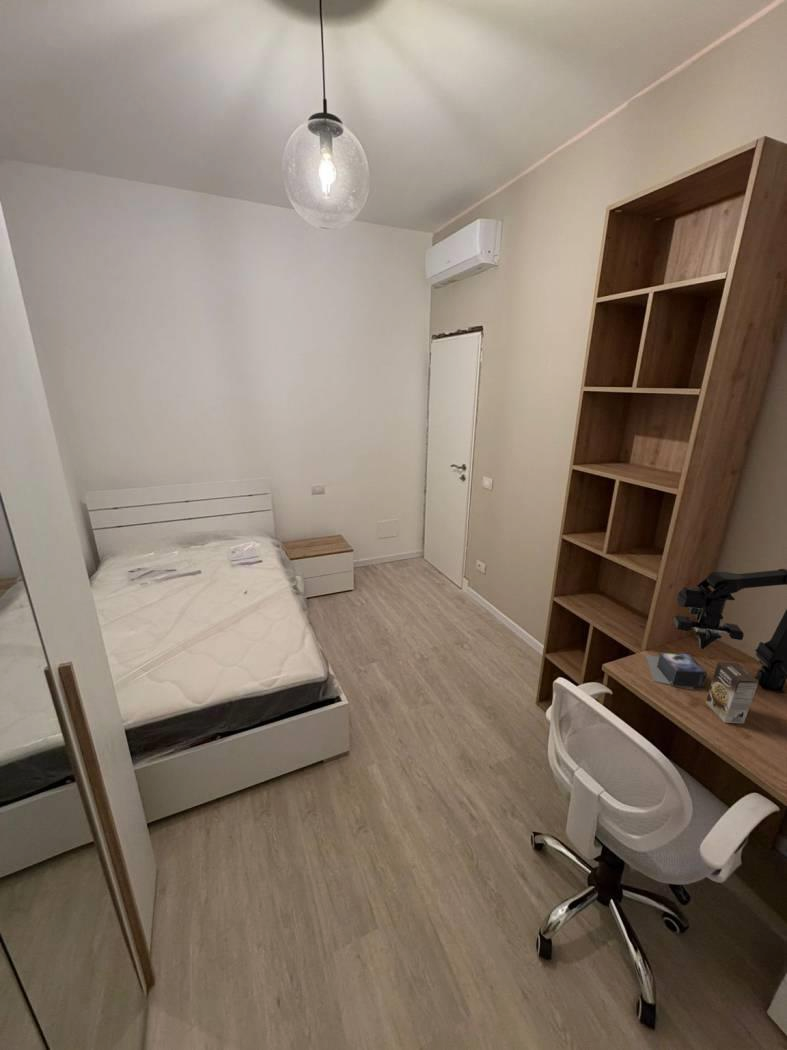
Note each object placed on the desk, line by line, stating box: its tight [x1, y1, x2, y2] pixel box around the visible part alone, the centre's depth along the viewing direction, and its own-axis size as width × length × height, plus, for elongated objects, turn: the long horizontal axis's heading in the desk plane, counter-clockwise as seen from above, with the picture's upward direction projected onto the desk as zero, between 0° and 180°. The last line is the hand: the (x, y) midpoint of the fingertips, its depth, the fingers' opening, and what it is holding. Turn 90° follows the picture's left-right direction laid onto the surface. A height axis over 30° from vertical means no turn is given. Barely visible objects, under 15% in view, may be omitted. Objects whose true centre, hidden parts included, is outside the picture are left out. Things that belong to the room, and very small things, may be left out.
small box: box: [657, 652, 708, 688], centre depth 149 cm, size 11×6×10 cm
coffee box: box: [705, 661, 759, 724], centre depth 132 cm, size 9×6×16 cm
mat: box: [645, 654, 695, 691], centre depth 153 cm, size 12×16×1 cm
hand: (701, 648), depth 147 cm, fingers closed
